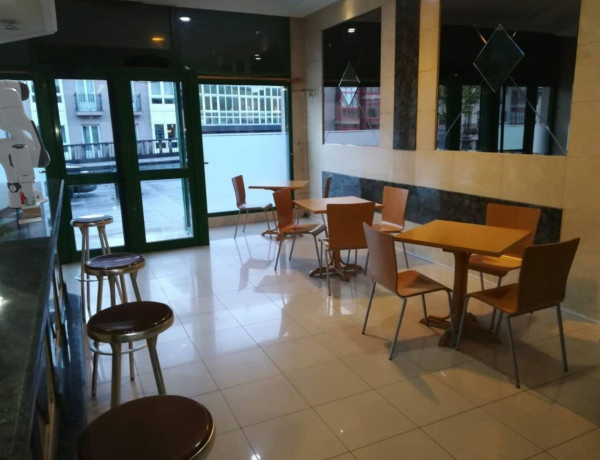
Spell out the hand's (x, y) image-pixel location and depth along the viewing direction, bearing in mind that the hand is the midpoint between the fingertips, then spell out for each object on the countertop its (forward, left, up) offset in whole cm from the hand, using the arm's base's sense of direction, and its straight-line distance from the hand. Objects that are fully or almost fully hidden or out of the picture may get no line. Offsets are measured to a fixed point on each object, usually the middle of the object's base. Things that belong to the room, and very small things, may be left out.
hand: (30, 203), depth 243 cm
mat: (+11, +6, -7) cm, 14 cm away
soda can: (-12, -10, -7) cm, 17 cm away
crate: (0, 0, -7) cm, 7 cm away
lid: (0, 0, -2) cm, 2 cm away
